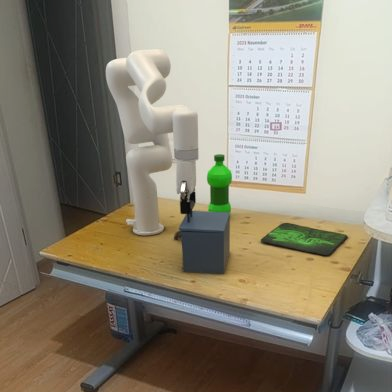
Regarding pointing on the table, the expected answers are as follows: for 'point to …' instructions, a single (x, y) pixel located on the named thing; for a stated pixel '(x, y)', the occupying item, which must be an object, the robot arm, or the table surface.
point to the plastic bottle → (219, 185)
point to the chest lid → (204, 221)
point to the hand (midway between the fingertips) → (188, 208)
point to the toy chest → (205, 250)
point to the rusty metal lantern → (178, 235)
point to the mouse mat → (305, 239)
